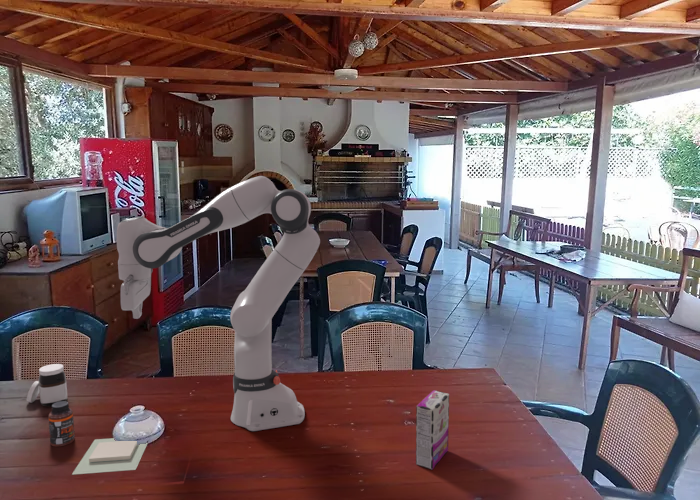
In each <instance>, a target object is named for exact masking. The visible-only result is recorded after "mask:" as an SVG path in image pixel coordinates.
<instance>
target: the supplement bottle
mask: <svg viewBox="0 0 700 500" xmlns="http://www.w3.org/2000/svg"><path fill="white" fill-rule="evenodd" d="M74 423H75V421H74V411H73V409H72V408H69V402H68V401H67V400H66V401H61V402H56V403H54V404H53V405H52V406H51V411H50V412H49V414H48V430H49V442H50V445H51V446H53V447H54V448H55V447H64V446H67V445H69V444H72V443H73V442H74V440H75V439H76V438H75V437H76V435H75V424H74Z"/></svg>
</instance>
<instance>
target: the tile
mask: <svg viewBox="0 0 700 500" xmlns="http://www.w3.org/2000/svg"><path fill="white" fill-rule="evenodd" d="M136 447H137V441H116V442H102V443H99V444H98V445H97V447H96V448H95V450H94V451H93V453H92V455H91V456H90V458H89V462H90V463H92V462H105V461H118V460H130V459H131V457H132V455H133V453H134V451H135V449H136Z"/></svg>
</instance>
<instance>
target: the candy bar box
mask: <svg viewBox="0 0 700 500" xmlns="http://www.w3.org/2000/svg"><path fill="white" fill-rule="evenodd" d="M449 409H450V393H448V392H447V393H446V392H443V391H438V390H436V389H435V390H432V391H430V393H428V394H427V395H426V396H425V397H424V398H423V399H422V400H421V401H420V402H419V403H418V404H416V408H415V411H416V412H415V414H416V415H415V419H416V420H415V421H416V422H415V426H416V427H415V430H416V432H415V436H416V437H415V439H416V440H415V444H416V445H415V446H416V447H415V465H416V466H419V467H422V468H426V469H429V470H434V468H435V467H436V466H437V464H439V462H440V461H441V459H442V458H443V457H444V456H445V454H446V453H447V452H449V429H450V428H449V420H450V418H449V415H450V410H449Z"/></svg>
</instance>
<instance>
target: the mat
mask: <svg viewBox="0 0 700 500" xmlns="http://www.w3.org/2000/svg"><path fill="white" fill-rule="evenodd" d="M114 438H115V437H113V438H112V437H111V438H96V439H94V440H93V441H92V443H91V445H90V447H89V448H88V449H87V451H86V452H85V453H84V454H83V457H82V458H81V459H80V461H79V462H78V464H77V466H76V467H75V468H74V470H73V472H72V474H71V475H74V476H75V475H83V474H84V475H85V474H96V473H97V474H98V473H113V472H124V471H125V472H126V471H136V469H137V468H138V465H139V463H140V461H141V458H142V457H143V454H144V453H145V451H146V448H147V446H148V444H149V442H148V443H146V444H140V445H137V447H136V449H135V451H134V453H133V455H132V457H131V459H130V460H118V461H105V462H92V463H90V462H89V458H90V456H91V455H92V453H93V451H94V450H95V448H96V447H97V445H98V444H99V443H102V442H116V441H115V440H114Z"/></svg>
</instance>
